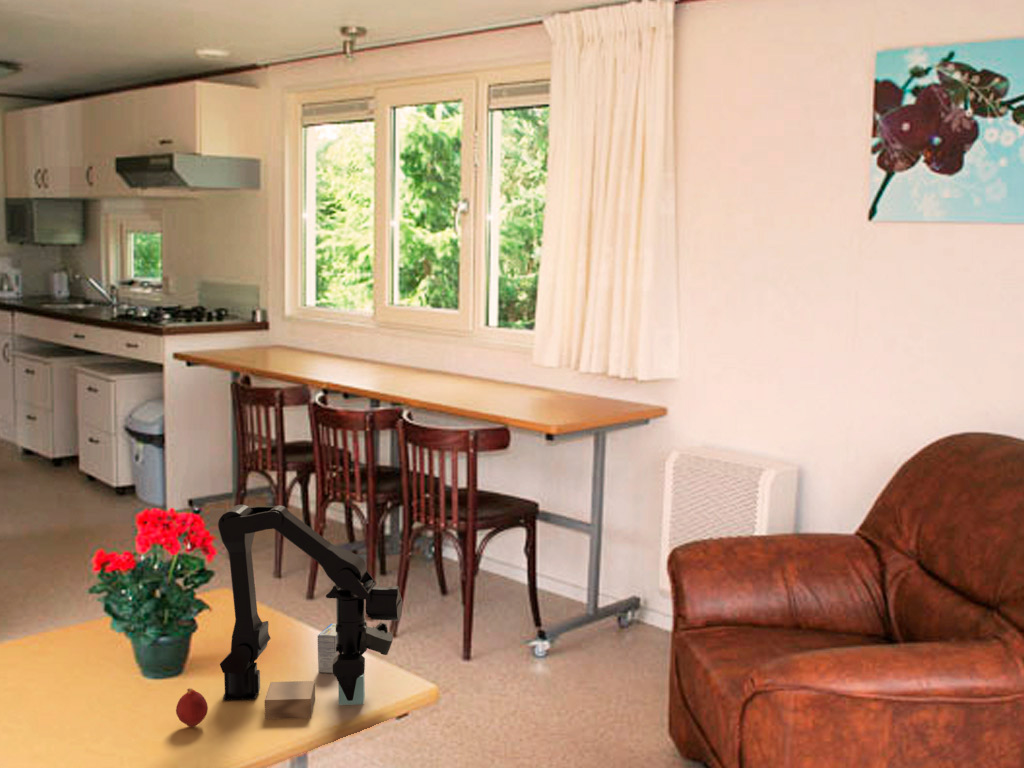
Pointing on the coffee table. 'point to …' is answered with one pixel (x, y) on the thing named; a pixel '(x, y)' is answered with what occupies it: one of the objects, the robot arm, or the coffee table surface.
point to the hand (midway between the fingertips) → (351, 691)
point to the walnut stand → (290, 700)
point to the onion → (191, 708)
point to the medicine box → (327, 649)
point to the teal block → (358, 693)
